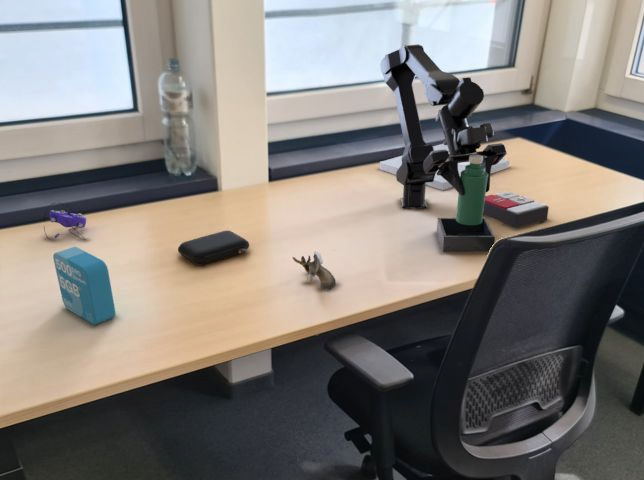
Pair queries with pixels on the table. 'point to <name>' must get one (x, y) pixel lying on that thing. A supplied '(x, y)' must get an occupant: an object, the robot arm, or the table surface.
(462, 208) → the bottle
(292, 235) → the table surface
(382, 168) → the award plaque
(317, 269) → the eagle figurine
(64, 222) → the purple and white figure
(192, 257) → the carrying case
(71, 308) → the data package
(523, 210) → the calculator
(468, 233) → the tray
